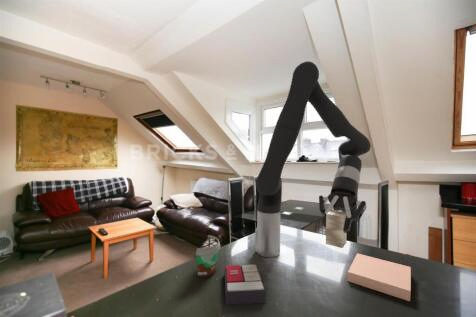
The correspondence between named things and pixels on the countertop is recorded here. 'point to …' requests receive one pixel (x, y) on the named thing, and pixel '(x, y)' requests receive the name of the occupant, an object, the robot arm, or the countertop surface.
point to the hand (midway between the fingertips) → (335, 229)
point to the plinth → (381, 276)
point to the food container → (208, 257)
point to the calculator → (244, 285)
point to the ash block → (335, 228)
